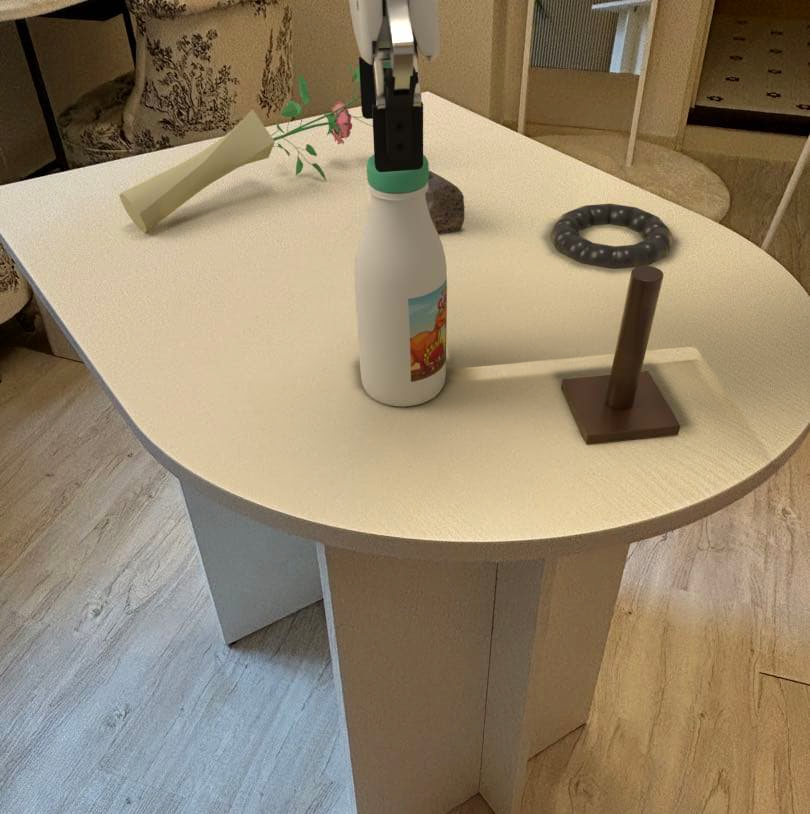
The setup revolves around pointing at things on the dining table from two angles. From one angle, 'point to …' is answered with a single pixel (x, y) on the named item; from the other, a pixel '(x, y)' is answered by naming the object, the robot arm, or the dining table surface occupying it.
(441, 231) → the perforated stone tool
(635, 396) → the holder
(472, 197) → the dining table surface
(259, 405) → the dining table surface
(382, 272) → the milk bottle
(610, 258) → the ring
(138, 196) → the flower vase
